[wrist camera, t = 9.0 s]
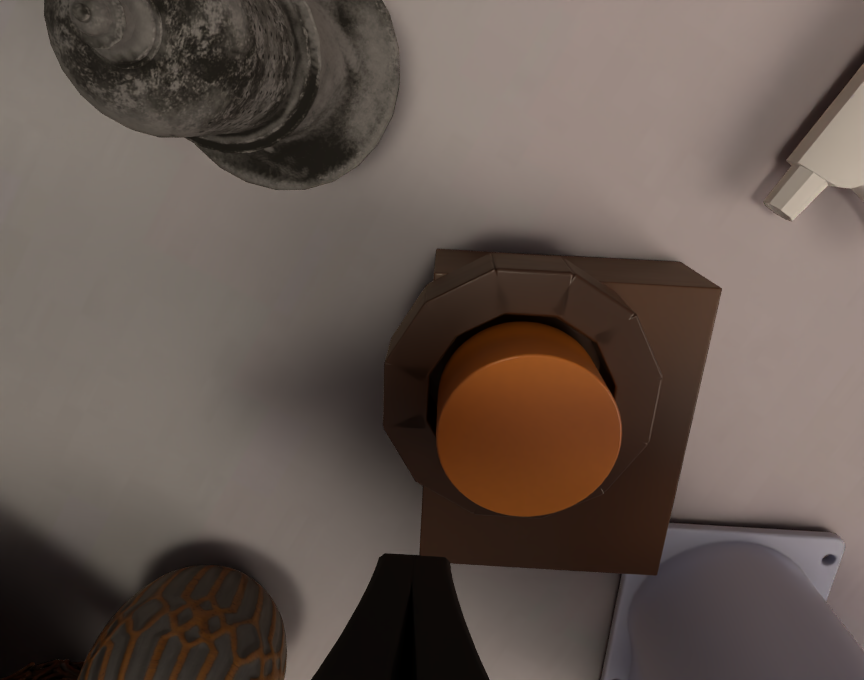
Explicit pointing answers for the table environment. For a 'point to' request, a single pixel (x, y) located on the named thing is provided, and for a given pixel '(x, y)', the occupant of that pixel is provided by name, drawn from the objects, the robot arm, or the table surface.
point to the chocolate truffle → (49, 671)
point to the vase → (192, 631)
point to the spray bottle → (826, 155)
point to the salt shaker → (239, 78)
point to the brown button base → (618, 366)
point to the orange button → (525, 420)
